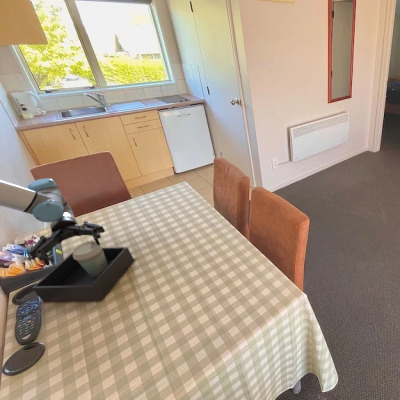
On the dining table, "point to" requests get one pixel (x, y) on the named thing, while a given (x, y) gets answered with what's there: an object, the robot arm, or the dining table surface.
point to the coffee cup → (91, 258)
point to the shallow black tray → (83, 278)
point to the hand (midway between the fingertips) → (72, 251)
